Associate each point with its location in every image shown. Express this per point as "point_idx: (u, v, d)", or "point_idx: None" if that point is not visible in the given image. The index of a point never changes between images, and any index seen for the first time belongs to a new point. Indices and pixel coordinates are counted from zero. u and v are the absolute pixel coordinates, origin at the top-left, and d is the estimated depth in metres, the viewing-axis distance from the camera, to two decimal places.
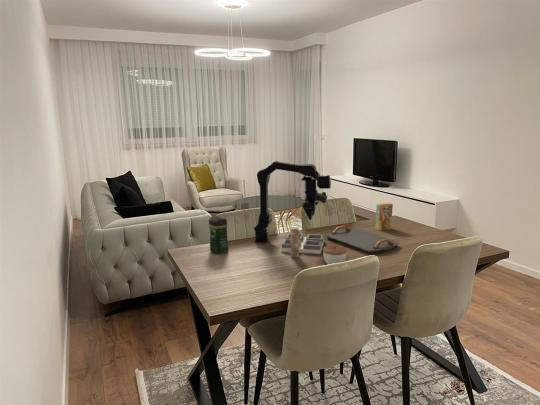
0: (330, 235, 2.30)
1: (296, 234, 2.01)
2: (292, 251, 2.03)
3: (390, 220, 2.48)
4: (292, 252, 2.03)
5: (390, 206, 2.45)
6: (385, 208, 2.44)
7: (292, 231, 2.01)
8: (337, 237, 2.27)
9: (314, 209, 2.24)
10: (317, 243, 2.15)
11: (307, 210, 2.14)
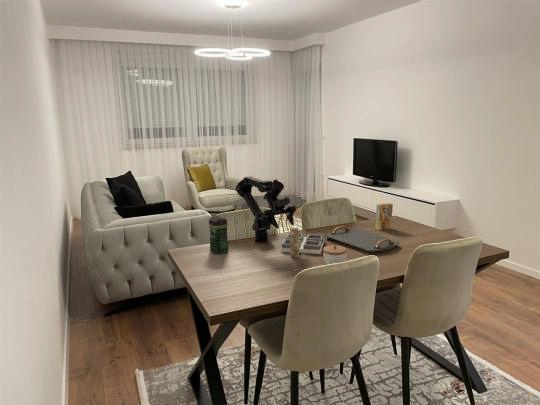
0: (330, 235, 2.29)
1: (296, 234, 2.01)
2: (292, 251, 2.03)
3: (390, 220, 2.48)
4: (292, 252, 2.03)
5: (390, 206, 2.45)
6: (385, 208, 2.44)
7: (292, 231, 2.01)
8: (337, 237, 2.26)
9: (291, 218, 2.12)
10: (317, 243, 2.15)
11: (270, 220, 2.08)
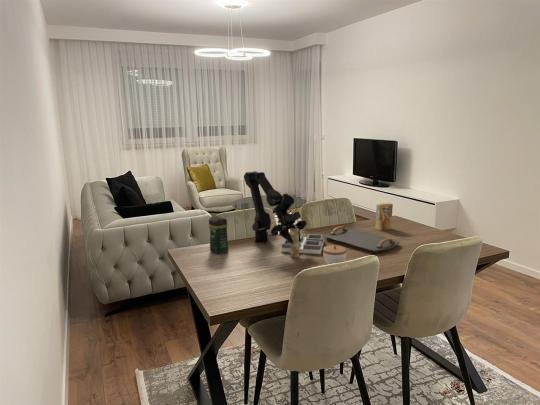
0: (329, 236, 2.28)
1: (296, 234, 2.01)
2: (292, 251, 2.03)
3: (390, 220, 2.48)
4: (292, 252, 2.03)
5: (390, 206, 2.45)
6: (385, 208, 2.44)
7: (292, 231, 2.01)
8: (337, 237, 2.25)
9: None
10: (317, 243, 2.15)
11: (284, 235, 2.04)
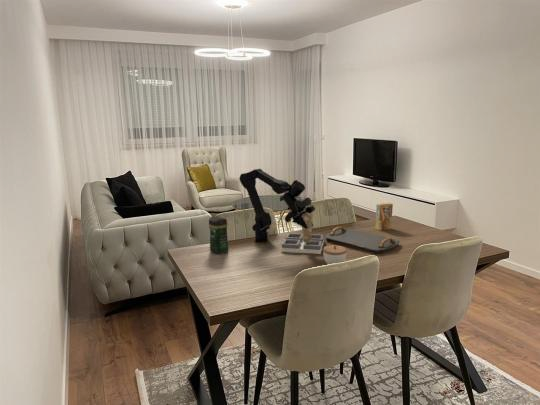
0: (329, 237, 2.27)
1: (310, 219, 2.05)
2: (306, 236, 2.06)
3: (390, 220, 2.48)
4: (306, 237, 2.06)
5: (390, 206, 2.45)
6: (385, 208, 2.44)
7: (306, 216, 2.04)
8: (338, 238, 2.25)
9: None
10: (317, 243, 2.15)
11: (298, 221, 2.06)
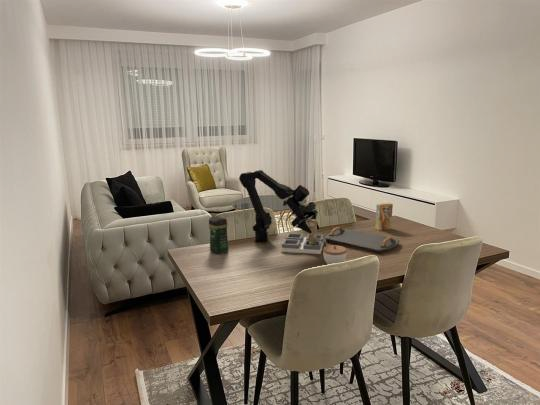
0: (329, 237, 2.26)
1: (315, 225, 2.09)
2: (312, 242, 2.10)
3: (390, 220, 2.48)
4: (312, 242, 2.10)
5: (390, 206, 2.45)
6: (385, 208, 2.44)
7: (312, 222, 2.08)
8: (338, 238, 2.24)
9: None
10: (317, 243, 2.15)
11: (301, 226, 2.08)
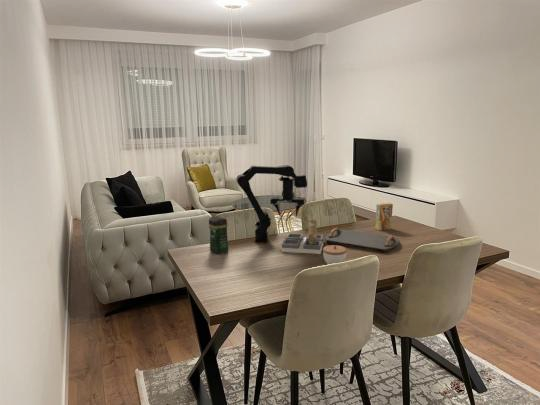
0: (330, 239, 2.23)
1: (315, 225, 2.09)
2: (312, 242, 2.10)
3: (390, 220, 2.48)
4: (312, 242, 2.10)
5: (390, 206, 2.45)
6: (385, 208, 2.44)
7: (312, 222, 2.08)
8: (339, 239, 2.22)
9: None
10: (317, 243, 2.15)
11: None
